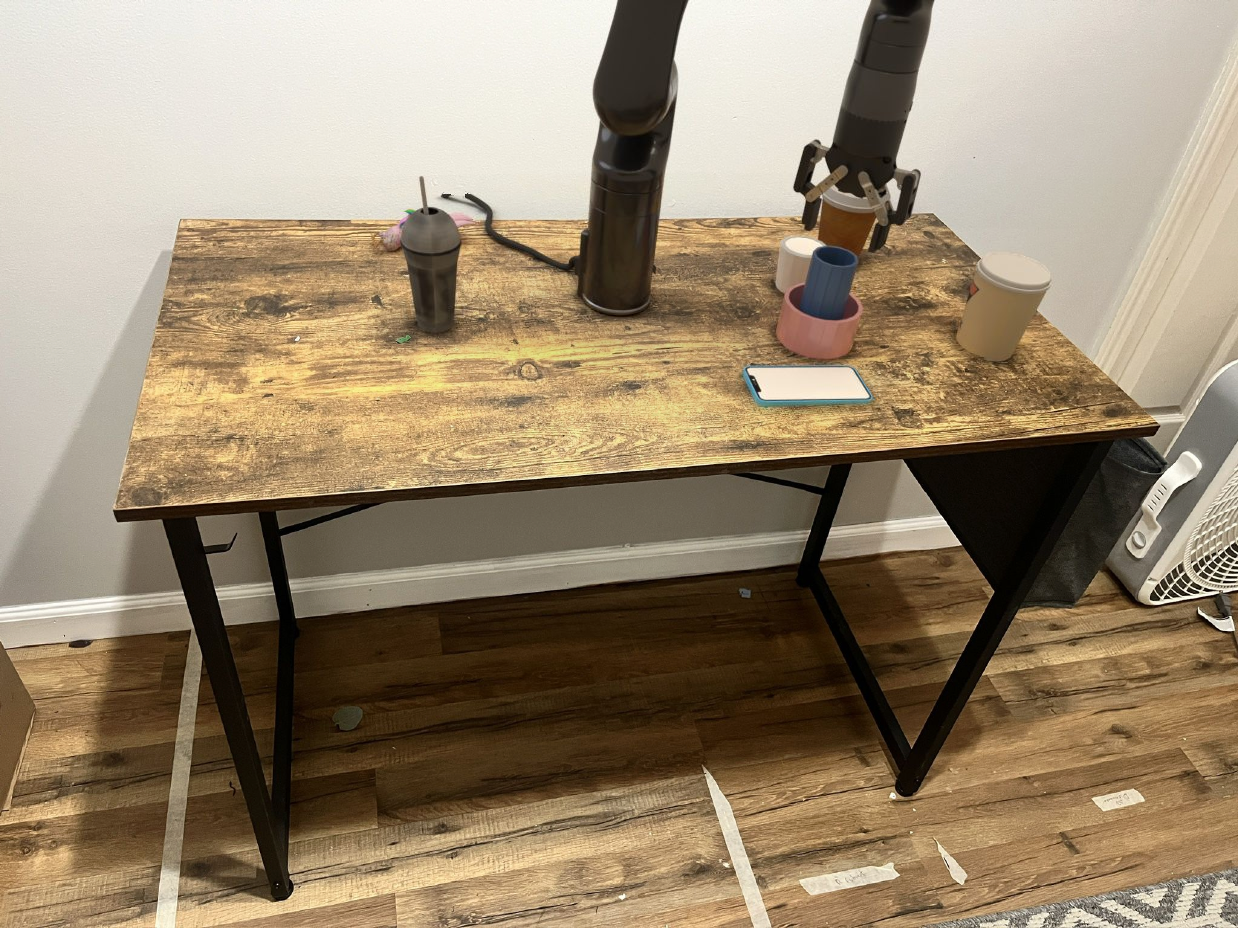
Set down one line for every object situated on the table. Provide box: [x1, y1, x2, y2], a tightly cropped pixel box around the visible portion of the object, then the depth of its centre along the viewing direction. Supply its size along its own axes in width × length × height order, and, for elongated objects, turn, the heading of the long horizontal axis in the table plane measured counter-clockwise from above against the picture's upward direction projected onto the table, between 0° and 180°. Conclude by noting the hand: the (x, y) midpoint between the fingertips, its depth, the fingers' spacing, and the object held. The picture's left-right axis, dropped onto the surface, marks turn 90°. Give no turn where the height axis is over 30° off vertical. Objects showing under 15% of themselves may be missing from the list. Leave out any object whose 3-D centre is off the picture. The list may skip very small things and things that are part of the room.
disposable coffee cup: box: [817, 185, 877, 259], centre depth 134 cm, size 10×10×12 cm
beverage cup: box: [400, 175, 463, 334], centre depth 108 cm, size 7×7×20 cm
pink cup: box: [775, 282, 864, 360], centre depth 117 cm, size 10×10×6 cm
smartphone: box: [742, 364, 874, 408], centre depth 110 cm, size 8×1×15 cm
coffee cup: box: [955, 251, 1053, 362], centre depth 118 cm, size 9×9×12 cm
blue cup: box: [799, 246, 859, 321], centre depth 115 cm, size 6×6×12 cm
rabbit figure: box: [370, 208, 476, 253], centre depth 129 cm, size 6×6×15 cm
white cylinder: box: [774, 234, 827, 294], centre depth 127 cm, size 7×7×7 cm
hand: (841, 239), depth 110 cm, fingers open, 8 cm apart
